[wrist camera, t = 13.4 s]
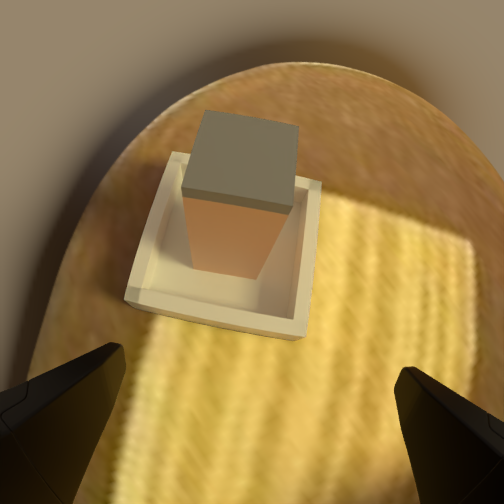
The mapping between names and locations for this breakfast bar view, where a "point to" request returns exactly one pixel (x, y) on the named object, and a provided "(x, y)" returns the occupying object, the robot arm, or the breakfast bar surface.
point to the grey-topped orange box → (238, 191)
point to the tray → (219, 285)
